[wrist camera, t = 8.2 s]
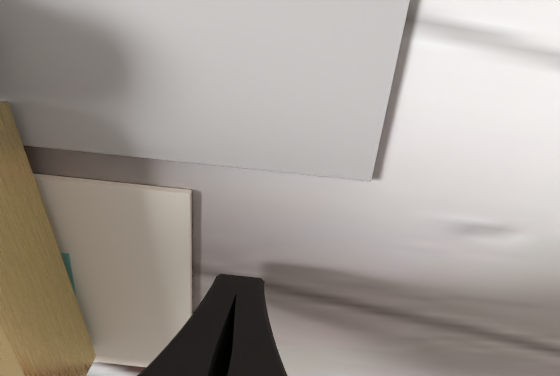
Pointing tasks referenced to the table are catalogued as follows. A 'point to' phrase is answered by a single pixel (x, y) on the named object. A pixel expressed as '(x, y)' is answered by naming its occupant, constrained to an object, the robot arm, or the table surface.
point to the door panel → (184, 126)
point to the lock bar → (33, 276)
